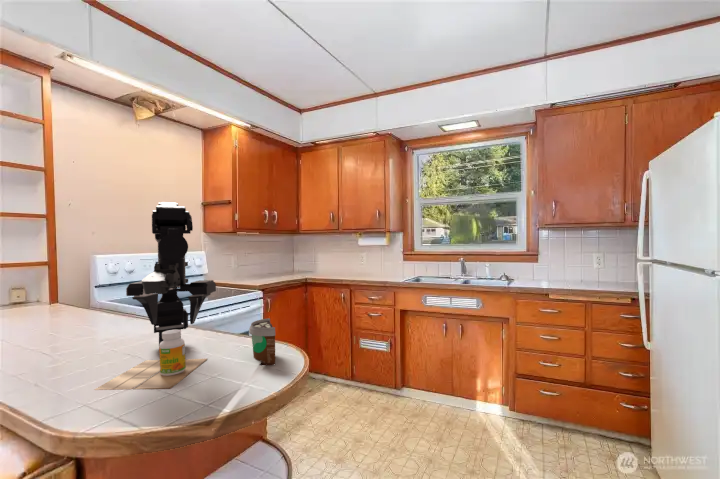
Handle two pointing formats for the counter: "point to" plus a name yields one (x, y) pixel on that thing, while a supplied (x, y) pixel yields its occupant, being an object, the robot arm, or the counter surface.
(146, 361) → the floor board
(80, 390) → the counter surface
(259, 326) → the food container
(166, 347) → the supplement bottle
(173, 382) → the plank
